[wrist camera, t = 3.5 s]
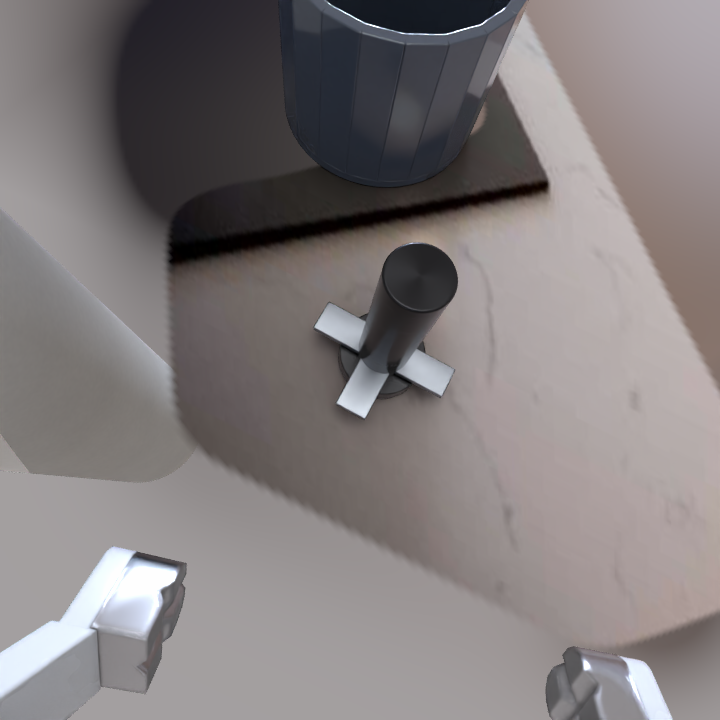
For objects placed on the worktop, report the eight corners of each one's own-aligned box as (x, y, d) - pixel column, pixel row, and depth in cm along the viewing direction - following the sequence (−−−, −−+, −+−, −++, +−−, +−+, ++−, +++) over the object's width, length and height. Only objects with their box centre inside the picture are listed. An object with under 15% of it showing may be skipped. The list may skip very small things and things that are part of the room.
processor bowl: (245, 90, 30) (217, -89, 21) (384, 6, 33) (413, -183, 24) (373, 223, 28) (403, 91, 19) (507, 122, 31) (589, -35, 22)
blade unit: (285, 383, 25) (271, 312, 15) (352, 273, 27) (375, 150, 18) (409, 451, 25) (473, 421, 15) (467, 334, 27) (555, 243, 17)
